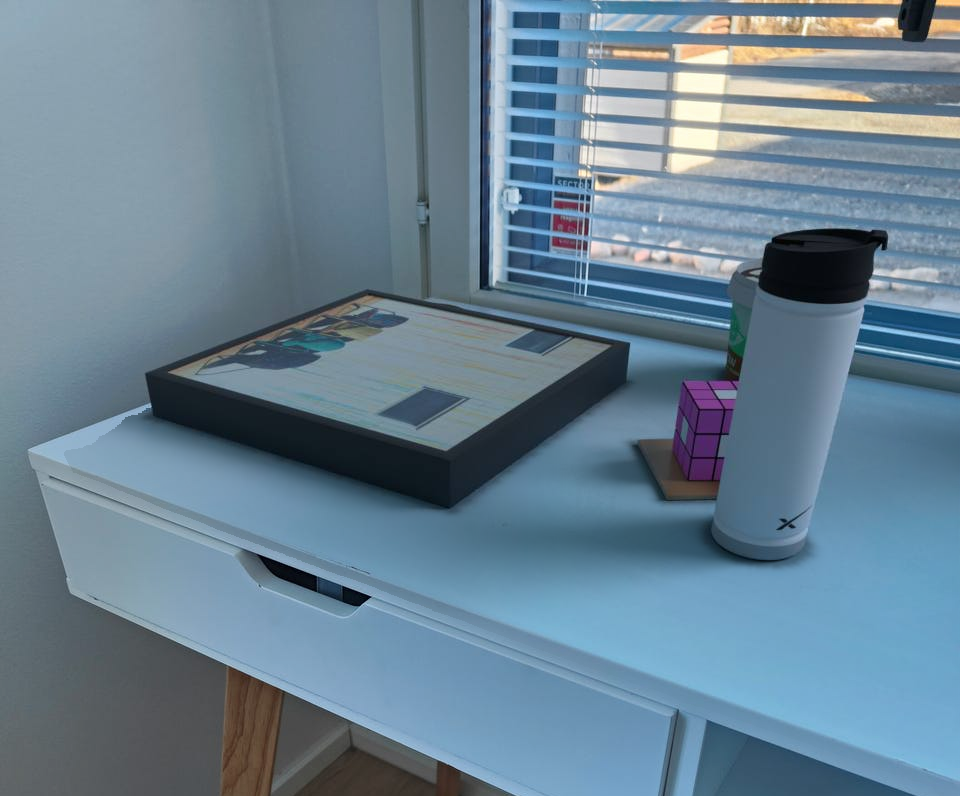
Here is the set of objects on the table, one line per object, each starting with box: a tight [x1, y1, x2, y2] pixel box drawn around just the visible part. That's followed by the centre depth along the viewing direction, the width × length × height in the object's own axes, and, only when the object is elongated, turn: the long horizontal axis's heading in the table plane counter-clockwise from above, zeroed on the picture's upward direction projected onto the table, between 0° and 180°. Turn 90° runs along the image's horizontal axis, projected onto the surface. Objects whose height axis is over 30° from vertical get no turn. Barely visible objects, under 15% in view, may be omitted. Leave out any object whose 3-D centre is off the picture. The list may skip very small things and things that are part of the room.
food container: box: [724, 257, 763, 382], centre depth 85 cm, size 12×6×10 cm, turn 6°
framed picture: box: [144, 288, 631, 509], centre depth 83 cm, size 30×4×30 cm
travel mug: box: [710, 227, 889, 561], centre depth 58 cm, size 6×7×20 cm
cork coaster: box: [636, 438, 720, 501], centre depth 73 cm, size 10×10×1 cm
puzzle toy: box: [672, 380, 739, 481], centre depth 71 cm, size 6×6×6 cm
